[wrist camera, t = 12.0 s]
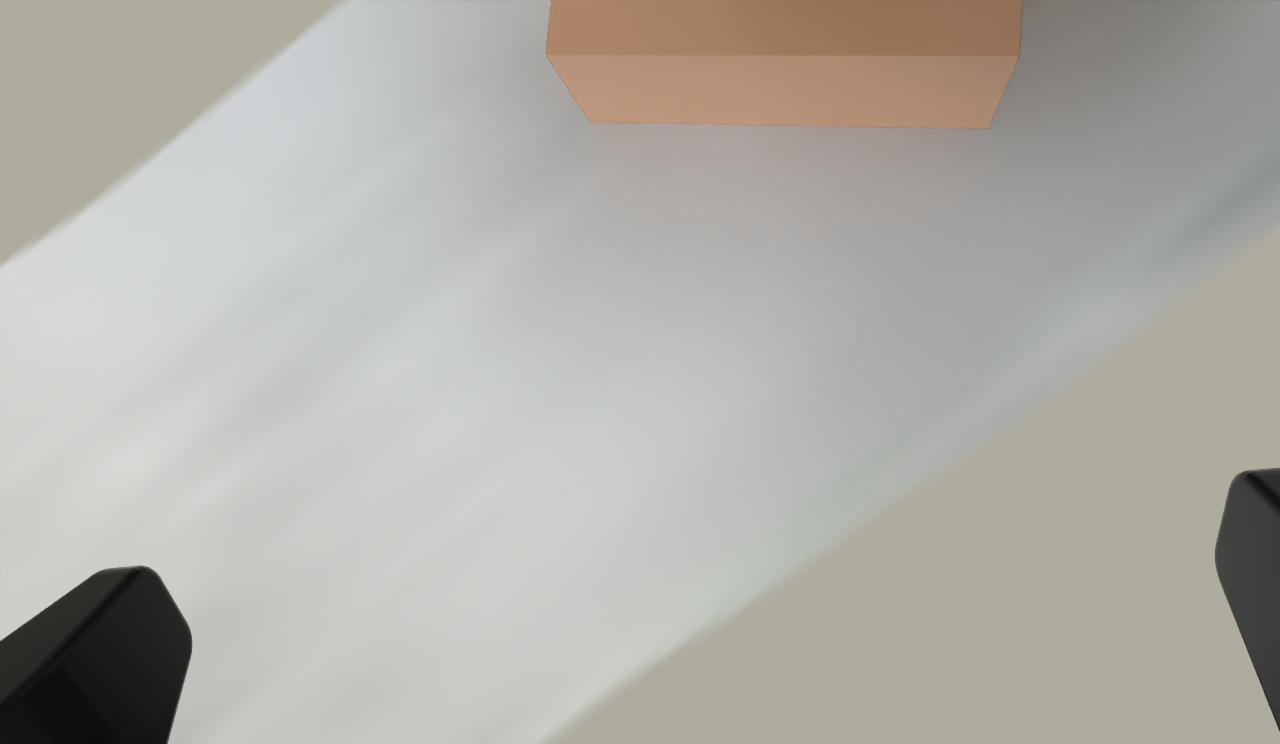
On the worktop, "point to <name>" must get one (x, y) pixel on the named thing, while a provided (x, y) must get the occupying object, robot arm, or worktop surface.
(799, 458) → the worktop surface
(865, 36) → the terracotta riser
